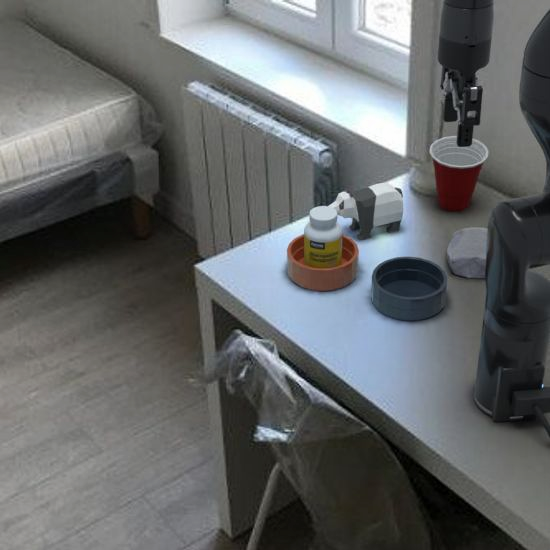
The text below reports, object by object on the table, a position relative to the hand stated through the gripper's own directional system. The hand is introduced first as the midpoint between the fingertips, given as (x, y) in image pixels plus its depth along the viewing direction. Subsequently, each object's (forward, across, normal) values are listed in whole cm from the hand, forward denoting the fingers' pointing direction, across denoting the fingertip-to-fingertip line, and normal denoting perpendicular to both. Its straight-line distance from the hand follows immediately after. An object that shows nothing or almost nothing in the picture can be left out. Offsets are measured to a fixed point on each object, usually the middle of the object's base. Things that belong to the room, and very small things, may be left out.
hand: (456, 133), depth 149 cm
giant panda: (+28, -18, -10) cm, 35 cm away
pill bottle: (+28, -6, -20) cm, 35 cm away
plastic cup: (+28, -25, +8) cm, 39 cm away
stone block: (+28, -6, +7) cm, 30 cm away
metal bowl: (+28, +4, -7) cm, 29 cm away
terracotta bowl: (+28, -6, -20) cm, 35 cm away
